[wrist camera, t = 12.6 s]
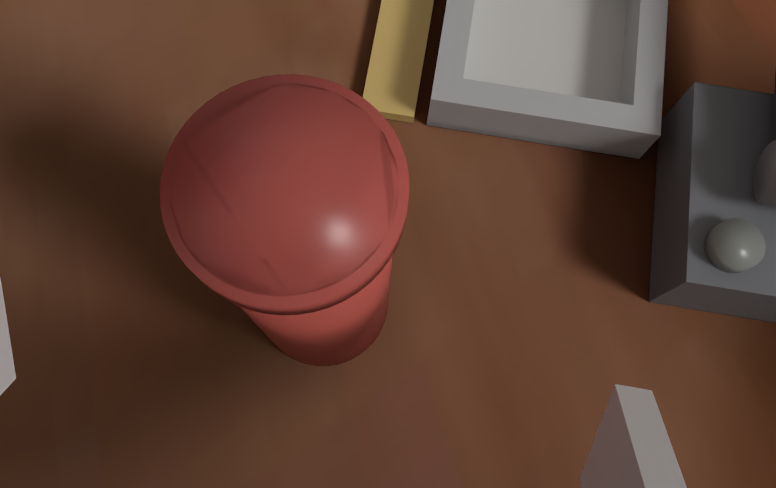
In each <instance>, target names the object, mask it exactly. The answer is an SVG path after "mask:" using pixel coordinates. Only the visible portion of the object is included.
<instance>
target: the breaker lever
mask: <svg viewBox="0 0 776 488" xmlns="http://www.w3.org/2000/svg"><path fill="white" fill-rule="evenodd" d="M753 192H754V196H755V199H756V200H757V202H758V203H759V204H762V205H767V206H774V207H776V74H775V91H774V108H773V124H772V141H771V143H770V144H769V145H767V147H766V148H765V149H764V151H763V152H762V154H761V156H760V158H759V160H758V162H757V165H756V168H755V172H754V178H753Z"/></svg>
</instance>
